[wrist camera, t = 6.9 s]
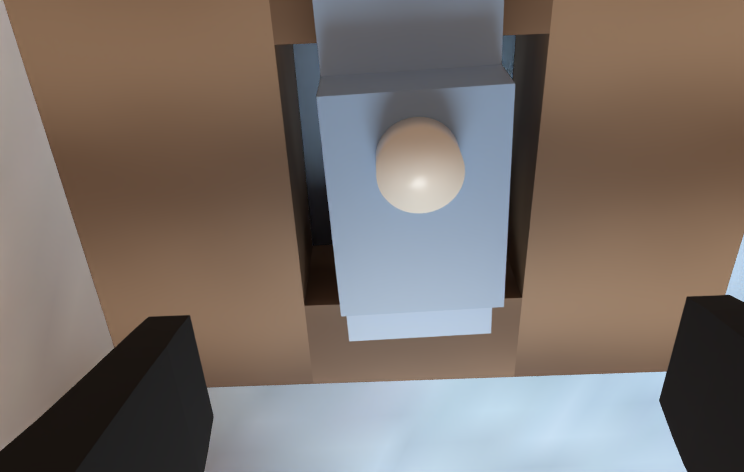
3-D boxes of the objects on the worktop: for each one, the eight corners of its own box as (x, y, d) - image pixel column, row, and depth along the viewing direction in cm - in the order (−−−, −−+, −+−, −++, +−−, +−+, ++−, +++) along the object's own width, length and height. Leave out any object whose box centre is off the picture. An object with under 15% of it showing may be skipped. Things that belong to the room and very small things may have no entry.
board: (658, 305, 20) (701, 370, 17) (159, 323, 20) (127, 390, 17) (763, -132, 14) (855, -133, 11) (45, -101, 14) (-28, -95, 11)
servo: (469, 255, 19) (507, 393, 14) (352, 262, 19) (347, 401, 14) (474, -55, 15) (532, -17, 10) (322, -44, 15) (299, -1, 10)
